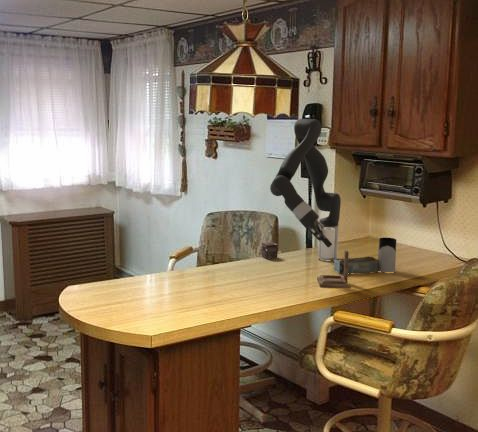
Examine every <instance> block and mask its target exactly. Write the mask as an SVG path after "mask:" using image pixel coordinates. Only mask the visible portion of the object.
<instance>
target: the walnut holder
mask: <svg viewBox="0 0 478 432" xmlns="http://www.w3.org/2000/svg"><path fill="white" fill-rule="evenodd" d="M349 253H350V252H349V250H346V249H345V250H344V255H343V256H344V257H343V258H344V274H343V275H340V274H337V275H336V274H335V275H331V274H330V275H329V274H326V275H325V274H320V275H319V276H317V277H316V280H317V284H318V285H319V287H320V288H345V289H346V288H349V289H350V283H349V281H348V277H349V276H348V275H349V274H348V258H349V255H350V254H349Z"/></svg>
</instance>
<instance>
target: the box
mask: <svg viewBox="0 0 478 432" xmlns="http://www.w3.org/2000/svg"><path fill="white" fill-rule="evenodd" d="M278 246H279V245H278V243H275V242H273V241H271V242H270V241H269V242H268V241H267V242H261V258H263V259H265V260H267V259H268V260H276V258H277V259H278Z"/></svg>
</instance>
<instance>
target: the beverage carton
mask: <svg viewBox="0 0 478 432" xmlns="http://www.w3.org/2000/svg"><path fill="white" fill-rule="evenodd" d="M333 262H334V263H333V271H334V270H335V271H337V272H338V273H339V274H338V273H337V272H336V273H337V274H338V275H340V274H343V275H344V257H343V258H337V259H334V261H333ZM378 266H379V260H378V258H375V257H373V256H365V257H348V273H349V274H348V275H352V274H351V273H364V274H371V273H370V272H378ZM335 271H334V272H335ZM378 273H379V272H378Z"/></svg>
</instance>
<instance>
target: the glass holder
mask: <svg viewBox="0 0 478 432" xmlns="http://www.w3.org/2000/svg"><path fill="white" fill-rule="evenodd" d="M378 244H379V245H378V251H377V252H378V254H377V260H379V266H378V271H381V272H395V271H396V262H397V260H396V258H397V256H396V255H397V239H396V238H394V237H380V238H379V241H378ZM396 272H397V271H396Z"/></svg>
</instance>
